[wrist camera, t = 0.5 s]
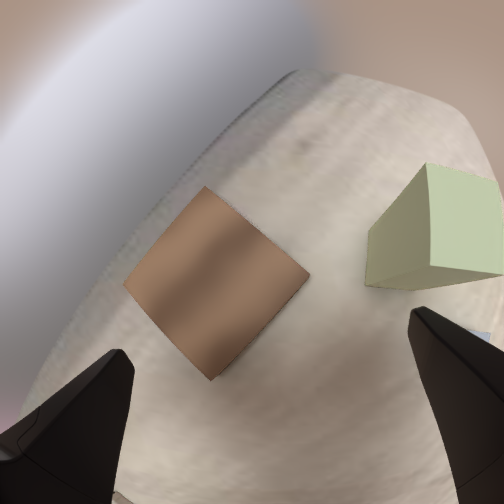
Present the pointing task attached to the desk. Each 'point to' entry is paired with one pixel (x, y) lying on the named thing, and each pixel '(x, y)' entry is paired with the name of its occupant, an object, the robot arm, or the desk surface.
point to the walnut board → (213, 282)
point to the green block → (438, 233)
